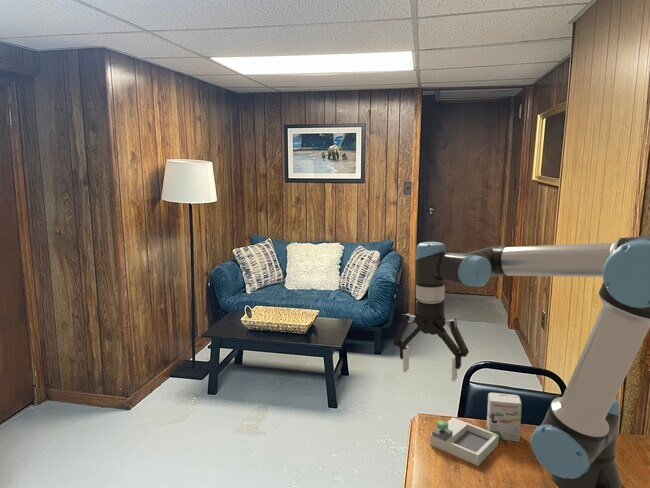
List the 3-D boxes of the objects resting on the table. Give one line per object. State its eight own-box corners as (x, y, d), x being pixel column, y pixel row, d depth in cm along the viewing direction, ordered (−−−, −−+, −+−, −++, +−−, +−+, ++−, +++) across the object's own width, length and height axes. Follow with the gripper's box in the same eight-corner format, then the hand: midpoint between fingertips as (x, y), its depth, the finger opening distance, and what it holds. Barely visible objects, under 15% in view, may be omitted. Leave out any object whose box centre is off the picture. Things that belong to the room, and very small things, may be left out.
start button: (450, 431, 132) (450, 423, 131) (444, 436, 130) (444, 427, 129) (440, 427, 134) (440, 419, 133) (434, 431, 132) (435, 423, 131)
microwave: (498, 444, 132) (499, 431, 131) (477, 465, 123) (478, 451, 123) (452, 426, 142) (452, 413, 141) (430, 444, 133) (430, 431, 132)
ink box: (488, 438, 135) (489, 400, 133) (486, 429, 140) (487, 392, 138) (520, 442, 133) (522, 403, 131) (517, 432, 138) (519, 394, 136)
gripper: (481, 301, 125) (479, 377, 128) (391, 291, 137) (391, 361, 140) (474, 308, 118) (473, 389, 122) (381, 298, 130) (382, 371, 134)
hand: (429, 374), depth 131 cm, fingers open, 13 cm apart
